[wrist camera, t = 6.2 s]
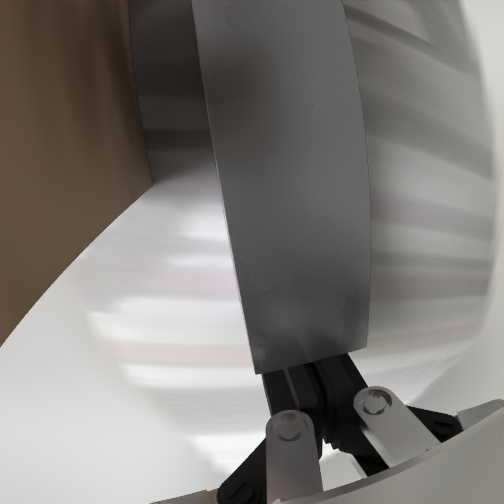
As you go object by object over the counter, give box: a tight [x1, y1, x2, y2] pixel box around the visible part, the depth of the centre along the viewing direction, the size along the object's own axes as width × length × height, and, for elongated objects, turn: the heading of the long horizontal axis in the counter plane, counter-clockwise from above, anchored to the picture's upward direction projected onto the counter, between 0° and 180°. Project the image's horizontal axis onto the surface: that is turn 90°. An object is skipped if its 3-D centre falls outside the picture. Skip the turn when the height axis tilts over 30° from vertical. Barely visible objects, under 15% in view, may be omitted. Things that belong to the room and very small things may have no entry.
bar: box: [191, 0, 371, 375], centre depth 8 cm, size 14×4×4 cm, turn 8°
